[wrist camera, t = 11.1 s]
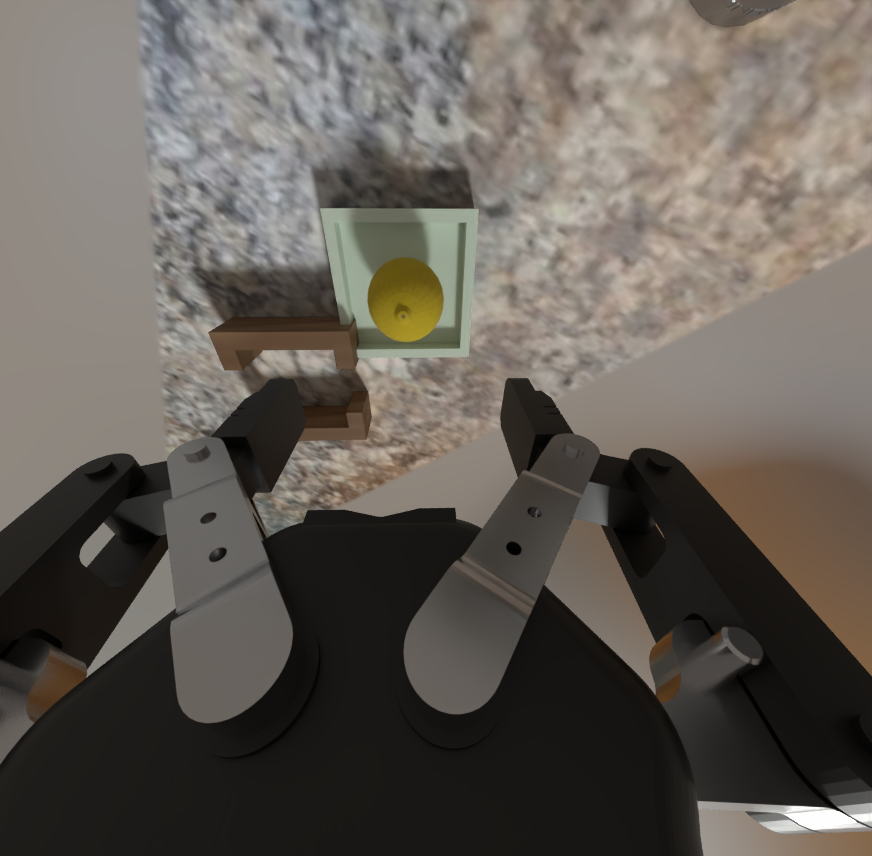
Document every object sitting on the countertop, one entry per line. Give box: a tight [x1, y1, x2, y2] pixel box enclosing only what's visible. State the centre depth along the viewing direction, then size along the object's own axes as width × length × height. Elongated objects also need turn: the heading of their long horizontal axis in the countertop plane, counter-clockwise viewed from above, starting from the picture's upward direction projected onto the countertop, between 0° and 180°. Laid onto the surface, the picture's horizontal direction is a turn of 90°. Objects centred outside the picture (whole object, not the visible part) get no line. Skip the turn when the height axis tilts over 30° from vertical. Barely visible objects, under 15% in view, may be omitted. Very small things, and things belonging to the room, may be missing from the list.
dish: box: [320, 208, 479, 358], centre depth 26 cm, size 11×11×2 cm
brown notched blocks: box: [208, 317, 372, 441], centre depth 29 cm, size 11×11×4 cm
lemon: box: [367, 257, 444, 342], centre depth 23 cm, size 6×6×8 cm
